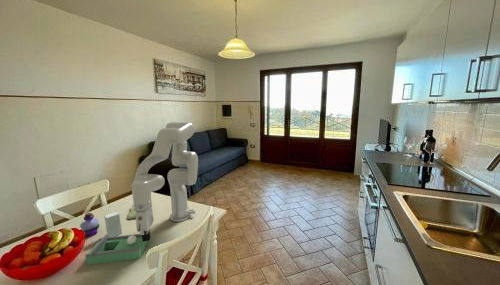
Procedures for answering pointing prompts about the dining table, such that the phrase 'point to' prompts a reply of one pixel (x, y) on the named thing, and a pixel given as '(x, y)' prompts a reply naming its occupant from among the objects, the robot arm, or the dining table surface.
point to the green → (115, 249)
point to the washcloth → (132, 213)
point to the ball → (131, 240)
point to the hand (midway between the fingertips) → (146, 240)
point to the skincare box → (113, 224)
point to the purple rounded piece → (90, 225)
